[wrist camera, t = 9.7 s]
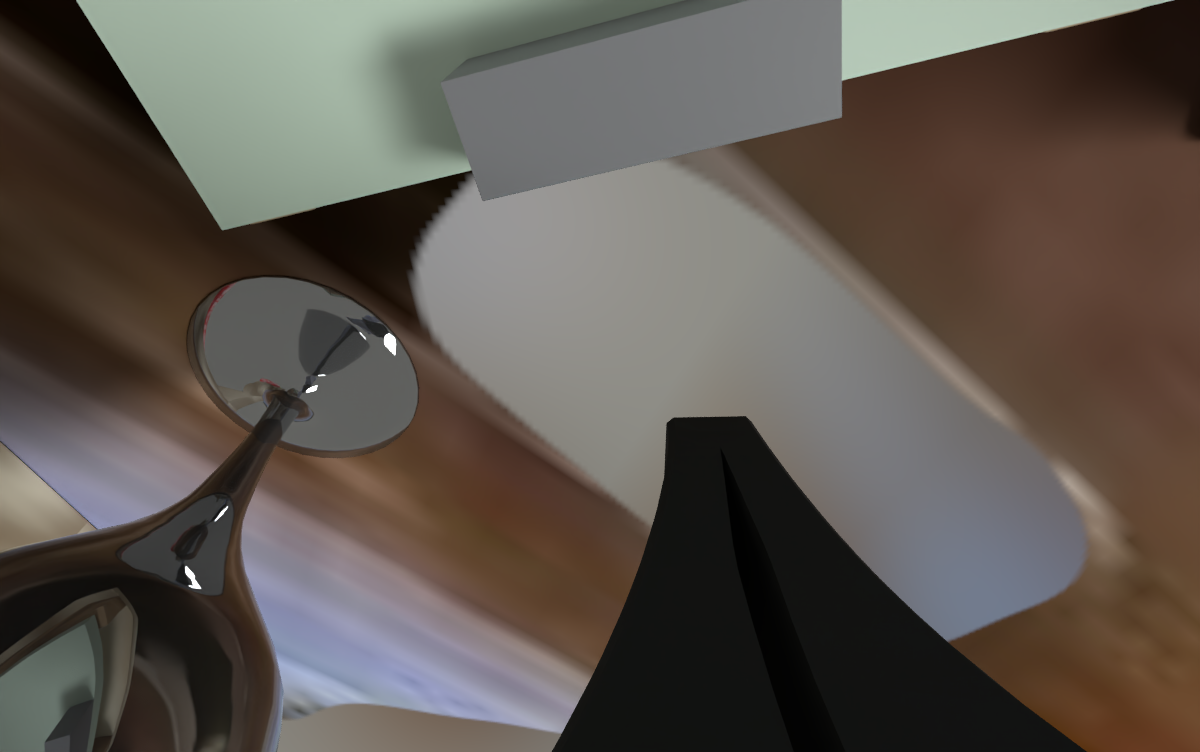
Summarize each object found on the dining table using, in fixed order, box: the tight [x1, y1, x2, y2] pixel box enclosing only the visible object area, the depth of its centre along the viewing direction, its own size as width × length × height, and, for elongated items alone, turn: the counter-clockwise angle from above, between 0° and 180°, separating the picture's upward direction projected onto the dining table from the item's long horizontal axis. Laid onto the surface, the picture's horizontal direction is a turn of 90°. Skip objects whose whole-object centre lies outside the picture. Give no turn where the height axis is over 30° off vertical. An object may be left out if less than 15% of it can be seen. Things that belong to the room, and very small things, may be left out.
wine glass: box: [0, 276, 419, 752], centre depth 13 cm, size 8×8×15 cm
